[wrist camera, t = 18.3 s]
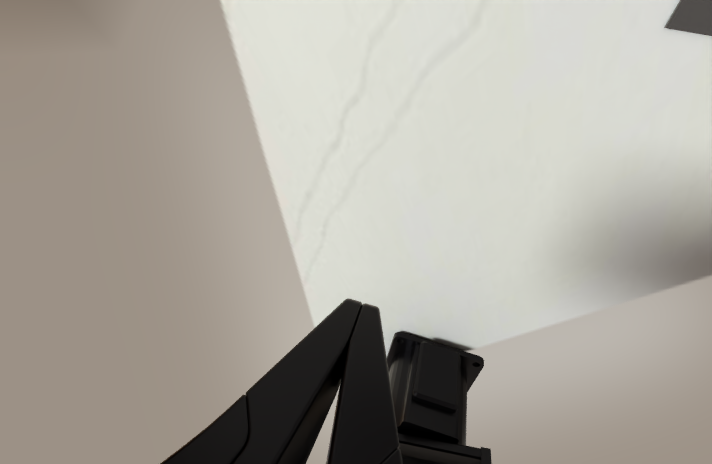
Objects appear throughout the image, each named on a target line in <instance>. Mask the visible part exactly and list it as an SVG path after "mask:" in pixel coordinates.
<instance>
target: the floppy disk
mask: <svg viewBox="0 0 712 464" xmlns="http://www.w3.org/2000/svg"><path fill="white" fill-rule="evenodd" d="M664 28H669V29H675V30H681V31H687V32H693V33H699V34H705V35H710V36H712V0H680V2H679V3H678V5H677V7H676V8H675V10H674V12H673V14H672V15H671V17H670V19H669V20H668V22H667V24H666V26H665V27H664Z"/></svg>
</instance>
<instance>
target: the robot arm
mask: <svg viewBox="0 0 712 464" xmlns="http://www.w3.org/2000/svg"><path fill="white" fill-rule="evenodd" d="M483 366H484V360H483V358H482V357H480V356H477V355H474V354H471V353H468V352H464V351H461V350H458V349H454V348H451V347H448V346H445V345H441V344H438V343H435V342H432V341H428V340H425V339H422V338H418V337H415V336H412V335H409V334H405V333H402V332H397V333H395V334H394V337H393V340H392V343H391V346H390V350H389V353H388V356H387V358H386V351H385V345H384V338H383V331H382V325H381V318H380V311H379V308H378V307H376V306H373V305H369V304H363V305H362V303H361V302H359V301H356V300H352V299H346V300H345V301H343V302H342V303H341V304H340V305H339V306H338V307H337V308H336V309H335V310H334V311H333V312H332V313H331V314H329V315H328V316H327V317H326V318H325V319H324V320H323V321H322V322H321V323H320V324H319V325H318V326H317V327H316V328H314V329H313V331H311V332H310V333H309V334H308V335H307V336H306V337H305V338H304V339H303V340H302V341H301V342H299V343H298V345H296V346H295V347H294V348H293V349H292V350H291V351H290V352H289V353H288V354H287V355H286V356H284V357H283V358H282V359H281V360H280V361H279V362H278V363H277V364H276V365H275V366H274V367H273V368H272V369H270V371H268V372H267V373H266V374H265V375H264V376H263V377H262V378H261V379H260V380H259V381H258V382H257V383H255V385H253V386H252V387H251V388H250V389H249V390H248V391H247V392H246V395H242V396H241V397H240V398H239V399H238V400H237V401H236V402H235V403H234V404H233V405H232V406H231V407H230V408H229V409H227V410H226V411H225V412H224V413H223V414H222V415H221V416H219V417H218V418H217V419H216V420H215V421H214V422H213V423H211V424H210V425H209V426H208V427H207V428H205V430H203V431H202V432H200V433H199V434H198V435H197V436H196V437H194V438H193V439H192V440H190V441H189V442H188V443H187V444H186V445H184V446H183V447H182V448H180V449H179V450H178V451H176V452H175V453H174V454H173V455H171V456H170V457H168V458H167V459H166V460H164V461H163V462H162V463H160V464H306V461H307V459H308V457H309V455H310V452H311V450H312V448H313V446H314V443H315V441H316V439H317V437H318V434H319V432H320V430H321V428H322V425H323V423H324V421H325V418H326V416H327V414H328V412H329V409H330V407H331V405H332V403H333V400H334V398H335V396H336V393H337V391H338V388H339V386H340V389H339V394H338V400H337V406H336V411H335V417H334V423H333V428H332V434H331V439H330V444H329V450H328V456H327V462H326V464H491V450H490V449H488V448H483V447H481V449H479V448H474V447H469V446H466V409H467V392H468V390H469V389H470V387H471V385H472V384H473V382H474V381H475V379H476V378H477V376H478V374H479V373H480V371H481V370H482V368H483ZM340 383H341V384H340Z"/></svg>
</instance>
